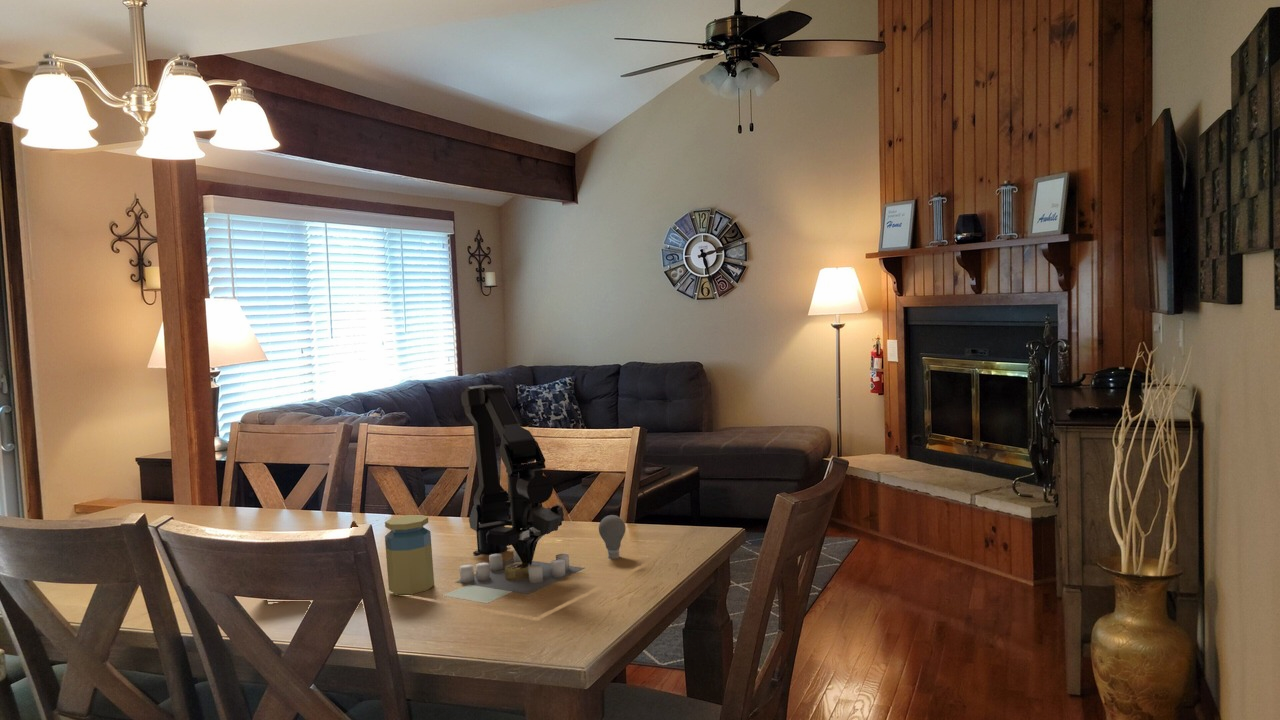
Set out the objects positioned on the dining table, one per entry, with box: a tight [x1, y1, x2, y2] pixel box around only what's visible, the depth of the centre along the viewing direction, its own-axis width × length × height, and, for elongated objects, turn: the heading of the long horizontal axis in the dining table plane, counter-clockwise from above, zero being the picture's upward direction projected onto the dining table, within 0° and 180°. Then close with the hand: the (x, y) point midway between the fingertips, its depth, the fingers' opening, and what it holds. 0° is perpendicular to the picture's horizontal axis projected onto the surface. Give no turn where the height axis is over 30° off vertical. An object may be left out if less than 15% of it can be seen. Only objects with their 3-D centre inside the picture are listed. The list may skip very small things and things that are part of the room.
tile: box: [442, 584, 512, 604], centre depth 183 cm, size 12×8×1 cm, turn 57°
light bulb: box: [598, 514, 627, 560], centre depth 203 cm, size 6×6×10 cm
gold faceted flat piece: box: [505, 562, 530, 580], centre depth 193 cm, size 6×5×2 cm
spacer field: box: [454, 548, 585, 595], centre depth 193 cm, size 20×19×4 cm
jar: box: [384, 514, 435, 596], centre depth 189 cm, size 9×9×15 cm
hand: (528, 567), depth 195 cm, fingers closed
